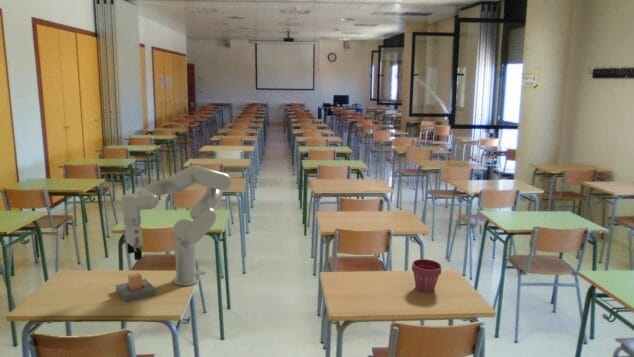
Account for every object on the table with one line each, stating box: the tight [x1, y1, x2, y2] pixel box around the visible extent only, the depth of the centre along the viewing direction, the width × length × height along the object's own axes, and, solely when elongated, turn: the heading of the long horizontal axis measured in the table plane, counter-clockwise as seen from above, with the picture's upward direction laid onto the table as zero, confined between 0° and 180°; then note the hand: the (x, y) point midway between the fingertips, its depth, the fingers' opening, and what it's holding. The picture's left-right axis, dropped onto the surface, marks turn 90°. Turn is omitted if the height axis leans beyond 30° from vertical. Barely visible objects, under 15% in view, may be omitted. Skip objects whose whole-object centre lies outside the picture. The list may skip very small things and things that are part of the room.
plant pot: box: [411, 258, 442, 293], centre depth 253 cm, size 14×14×13 cm
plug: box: [127, 272, 143, 291], centre depth 240 cm, size 5×4×9 cm
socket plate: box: [115, 278, 157, 303], centre depth 240 cm, size 14×14×3 cm
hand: (134, 256), depth 237 cm, fingers open, 9 cm apart
